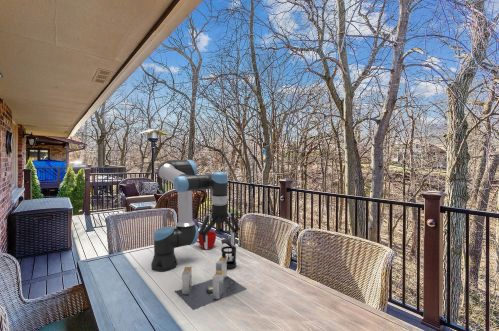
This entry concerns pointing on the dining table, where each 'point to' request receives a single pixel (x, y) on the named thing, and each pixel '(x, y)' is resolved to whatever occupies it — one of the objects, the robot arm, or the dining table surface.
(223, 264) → the white yellow slab
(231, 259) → the french press
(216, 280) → the banded metal block
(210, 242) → the ceramic cup
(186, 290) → the orange and grey block
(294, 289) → the dining table surface
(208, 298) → the board
